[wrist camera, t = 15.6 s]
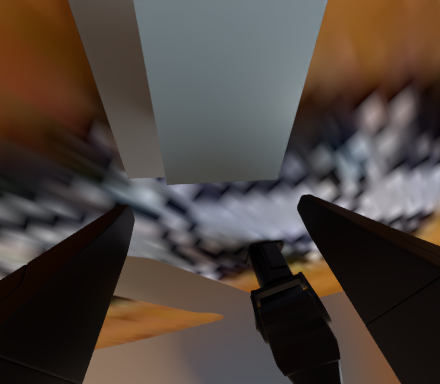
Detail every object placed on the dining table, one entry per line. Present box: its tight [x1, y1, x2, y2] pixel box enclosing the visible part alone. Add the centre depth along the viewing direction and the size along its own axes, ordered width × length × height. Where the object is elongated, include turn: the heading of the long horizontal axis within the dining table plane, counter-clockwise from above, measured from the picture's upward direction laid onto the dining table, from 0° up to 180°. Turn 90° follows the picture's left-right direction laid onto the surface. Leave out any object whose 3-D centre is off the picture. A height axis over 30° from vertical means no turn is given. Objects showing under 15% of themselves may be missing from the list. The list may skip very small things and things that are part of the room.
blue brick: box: [133, 0, 328, 185], centre depth 7 cm, size 6×4×5 cm
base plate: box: [68, 0, 165, 179], centre depth 13 cm, size 16×16×1 cm
